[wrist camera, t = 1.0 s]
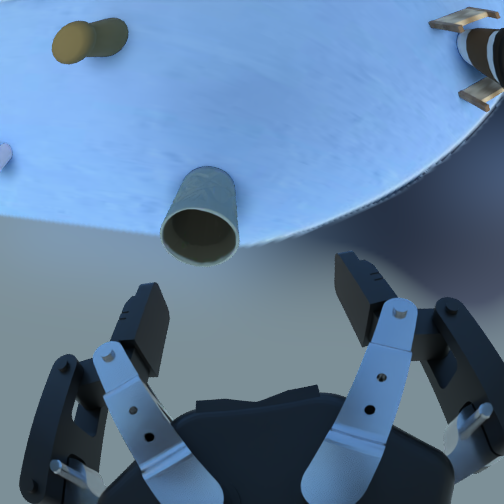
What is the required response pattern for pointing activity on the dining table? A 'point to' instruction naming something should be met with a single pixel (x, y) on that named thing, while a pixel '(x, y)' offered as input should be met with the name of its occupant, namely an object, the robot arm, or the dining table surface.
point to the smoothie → (5, 155)
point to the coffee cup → (484, 51)
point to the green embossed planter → (202, 219)
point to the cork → (89, 40)
